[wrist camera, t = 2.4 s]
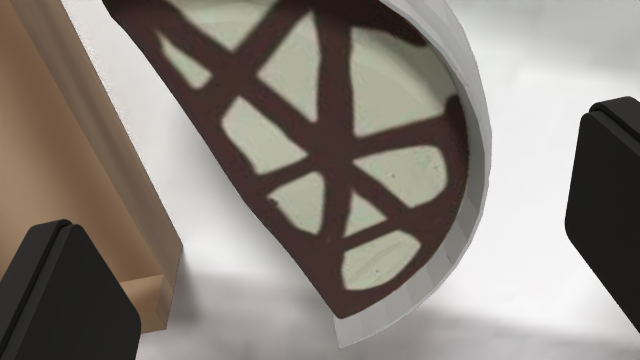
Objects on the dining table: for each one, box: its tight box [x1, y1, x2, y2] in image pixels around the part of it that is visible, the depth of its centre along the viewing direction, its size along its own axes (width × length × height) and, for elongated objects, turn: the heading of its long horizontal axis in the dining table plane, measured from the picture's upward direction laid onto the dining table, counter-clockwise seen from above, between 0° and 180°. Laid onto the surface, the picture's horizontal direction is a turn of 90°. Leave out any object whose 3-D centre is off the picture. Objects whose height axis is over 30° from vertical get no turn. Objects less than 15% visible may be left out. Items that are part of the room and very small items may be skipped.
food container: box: [102, 0, 492, 349], centre depth 14 cm, size 12×6×10 cm, turn 25°
